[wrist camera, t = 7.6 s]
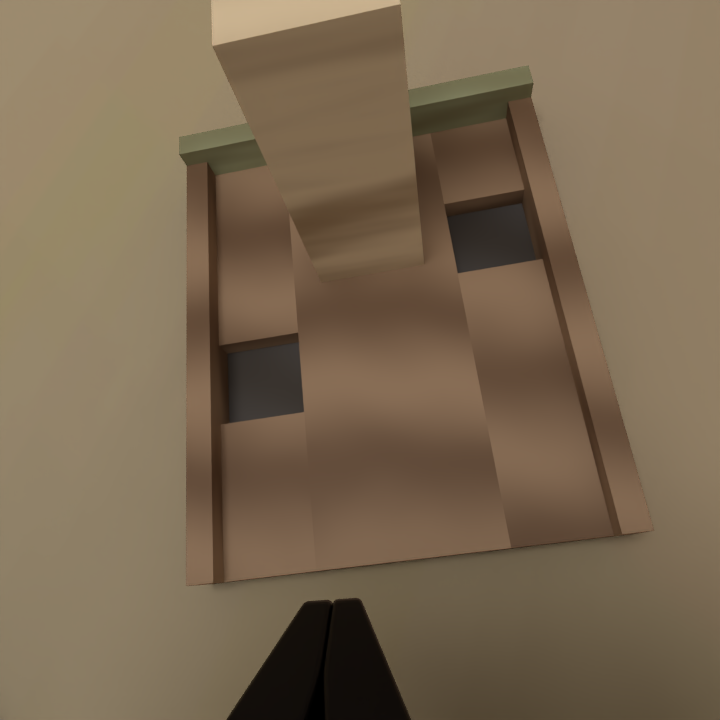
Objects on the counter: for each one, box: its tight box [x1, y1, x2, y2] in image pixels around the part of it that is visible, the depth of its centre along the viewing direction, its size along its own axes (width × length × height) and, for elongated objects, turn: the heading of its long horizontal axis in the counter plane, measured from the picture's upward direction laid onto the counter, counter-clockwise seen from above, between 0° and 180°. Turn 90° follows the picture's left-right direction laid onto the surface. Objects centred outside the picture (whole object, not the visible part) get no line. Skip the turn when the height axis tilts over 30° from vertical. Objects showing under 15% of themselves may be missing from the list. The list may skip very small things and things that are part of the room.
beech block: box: [211, 0, 424, 282], centre depth 20 cm, size 6×4×12 cm
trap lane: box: [179, 66, 654, 586], centre depth 23 cm, size 20×16×3 cm
